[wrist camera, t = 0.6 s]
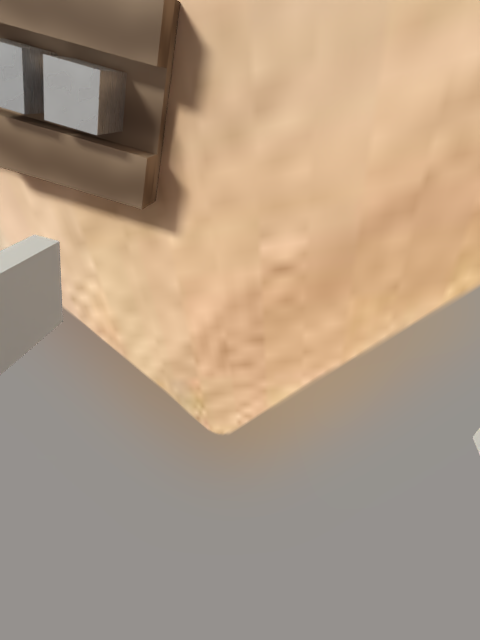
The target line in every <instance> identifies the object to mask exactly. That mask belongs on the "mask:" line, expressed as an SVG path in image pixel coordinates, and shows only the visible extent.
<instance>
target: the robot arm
mask: <svg viewBox="0 0 480 640" xmlns="http://www.w3.org/2000/svg"><path fill="white" fill-rule="evenodd" d="M62 322H63V315H62V291H61V268H60V244H59V241H57V240H53V239H49V238H45V237H42V236H38V235H33V236H31V237H28V238H26V239H24V240H22V241H20V242H18V243H16V244H14V245H12V246H10V247H7V248H5V249H3V250H1V251H0V375H1V374H2V373H3V372H4V371H6V370H7V369H8V368H9V367H10V366H11V365H13V364H14V363H15V362H16V361H17V360H19V359H20V358H21V357H22V356H23V355H24V354H26V353H27V352H28V351H29V350H30V349H31V348H33V347H34V346H35V345H36V344H37V343H38V342H39V341H41V340H42V339H43V338H44V337H45V336H47V335H48V334H49V333H50V332H51V331H52V330H54V329H55V328H56V327H57V326H58V325H60V324H61V323H62ZM473 440H474V442H475V444H476V447H477V449H478V451H479V454H480V428H479V429H478V431H477V432H476V434H475V435H474V436H473Z"/></svg>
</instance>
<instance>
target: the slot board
mask: <svg viewBox="0 0 480 640" xmlns="http://www.w3.org/2000/svg"><path fill="white" fill-rule="evenodd" d="M179 7H180V2H179V1H177V0H0V38H4V39H9V40H12V41H16V42H19V43H23V44H26V45H30V46H33V47H37V48H41V49H44V50H48V51H51V52H55V53H57V56H61V57H69V58H76V59H79V60H83V61H86V62H90V63H93V64H97V65H101V66H104V67H108V68H111V69H115V70H118V71H122V72H125V73H127V77H126V90H125V104H124V117H123V131H120V132H114V133H108V134H103V135H94V134H91V133H87V132H84V131H80V130H77V129H73V128H70V127H67V126H63V125H60V124H56V123H53V122H50V121H46V120H44V113H35V114H22V113H19V112H15V111H12V110H8V109H5V108H2V107H0V167H2V168H5V169H9V170H12V171H15V172H19V173H22V174H25V175H29V176H32V177H35V178H39V179H42V180H45V181H49V182H52V183H55V184H59V185H62V186H65V187H69V188H72V189H75V190H79V191H82V192H85V193H89V194H92V195H95V196H99V197H102V198H105V199H109V200H112V201H115V202H119V203H122V204H125V205H129V206H132V207H135V208H139V209H143V208H145V207H146V206H148V205H150V204H151V203H153V202H154V201H155V200H156V192H157V184H158V176H159V168H160V160H161V152H162V144H163V136H164V128H165V120H166V112H167V104H168V96H169V88H170V80H171V72H172V64H173V56H174V47H175V39H176V31H177V23H178V15H179Z"/></svg>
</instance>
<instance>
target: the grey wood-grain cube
mask: <svg viewBox="0 0 480 640" xmlns="http://www.w3.org/2000/svg"><path fill="white" fill-rule="evenodd" d="M126 77H127V73H125V72H122V71H118V70H115V69H111V68H108V67H104V66H101V65H97V64H93V63H90V62H86V61H83V60H79V59H76V58H69V57H61V56H54V55H47V54H43V82H44V120H46V121H50V122H53V123H56V124H60V125H63V126H67V127H70V128H73V129H77V130H80V131H84V132H87V133H91V134H94V135H103V134H108V133H114V132H120V131H123V117H124V104H125V90H126Z"/></svg>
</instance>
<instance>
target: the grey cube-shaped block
mask: <svg viewBox="0 0 480 640" xmlns="http://www.w3.org/2000/svg"><path fill="white" fill-rule="evenodd" d="M43 54H47V55H54V56H57V53H55V52H51V51H48V50H44V49H41V48H37V47H33V46H30V45H26V44H23V43H19V42H16V41H12V40H9V39H4V38H0V107H2V108H5V109H8V110H12V111H15V112H19V113H22V114H35V113H44V82H43Z"/></svg>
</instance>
